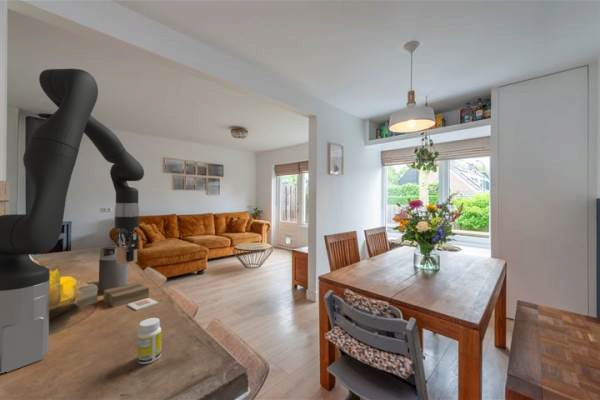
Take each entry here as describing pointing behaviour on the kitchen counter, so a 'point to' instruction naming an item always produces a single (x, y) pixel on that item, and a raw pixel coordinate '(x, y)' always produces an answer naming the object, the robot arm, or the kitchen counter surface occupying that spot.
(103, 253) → the coffee box
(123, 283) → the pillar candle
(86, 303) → the birch block
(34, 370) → the kitchen counter surface
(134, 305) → the card
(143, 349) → the supplement bottle
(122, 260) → the terracotta block
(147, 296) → the walnut block
